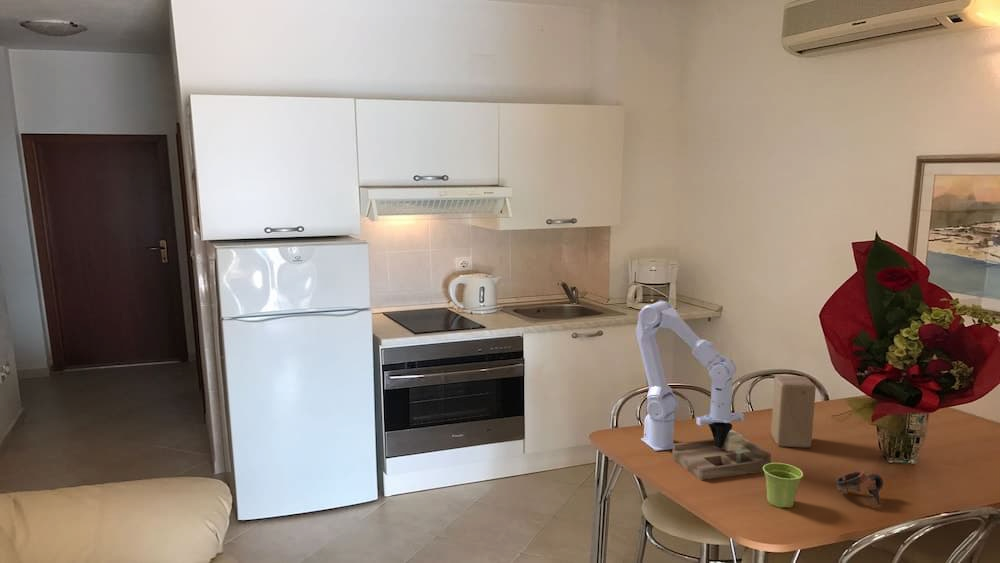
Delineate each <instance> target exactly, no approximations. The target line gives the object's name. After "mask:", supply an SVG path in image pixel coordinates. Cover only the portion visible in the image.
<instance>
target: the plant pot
mask: <svg viewBox="0 0 1000 563" xmlns="http://www.w3.org/2000/svg"><path fill="white" fill-rule="evenodd" d="M763 471H764V476H765V481H766V482H765V484H766V500H767V501H768V503H769V504H770V505H771V506H774V507H776V508H780V509H781V508H783V509H784V508H788V509H789V508H792V507H793V506H794V503H795V499H796V495H797V491H798V487H799V483H800V482H801V480H802V478H803V477H804V472H803V471H802V469H800V468H798V467H796V466H794V465H791V464H787V463H782V462H770V463H769V464H766V465H764V466H763Z"/></svg>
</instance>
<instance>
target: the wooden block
mask: <svg viewBox="0 0 1000 563" xmlns="http://www.w3.org/2000/svg"><path fill="white" fill-rule="evenodd" d="M773 382H774V383H773V397H772V410H771V411H772V412H771V428H770V434H771V437H772V438H773V440H774V441H775V444H776V445H777V446H778V447H786V448H787V447H789V448H791V447H792V448H803V449H804V448H805V449H808V448H811V446H812V441H813V439H812V438H813V428H814V418H815V415H814V414H815V413H814V412H815V401H816V391H817V390H816V385H815V384H814V383H813V382H812V381H811V380H810V379H809V378H808V377H807V376H803V375H799V376H798V375H776V376H775V377H774V380H773Z"/></svg>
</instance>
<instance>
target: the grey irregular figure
mask: <svg viewBox="0 0 1000 563" xmlns="http://www.w3.org/2000/svg"><path fill="white" fill-rule="evenodd" d="M843 476H844V479H843V477H842V476H841V477H839V478H837V479H836V480H835V483H836V484H837V487H836V491H837V492H843V493H844V494H845V495H848V491H849V488H850V489H851V490H854V491H856V492H861V491H862V489H861V484H862V485H863V486H864V487H865V488H866V490H868V494H870V495H872V498H869V499H868V500H867V502H868V503H869V507H870V509H876V508H877V507H878V506H880V505H881V500H880V494H879V492H880V491H881V489H882V488H883V485H884V480H883V478H882V477H881V476H880V474H878V473H872V474H868V475H866V474H865V472H864V471H861V470H857V471H853V472H850V473H847V474H844V475H843Z"/></svg>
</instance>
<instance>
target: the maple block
mask: <svg viewBox="0 0 1000 563" xmlns="http://www.w3.org/2000/svg"><path fill="white" fill-rule="evenodd" d="M742 437H743V435H742V434H740V433H739V432H738V431H735V430H732V429H731V430H730V431H729V433H728V434H727V436H726V439H725V441H724V444H723V447H722V448H723V449H724V450H726V451H728V452H730V451H741V447H742ZM743 438H744V437H743Z"/></svg>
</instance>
